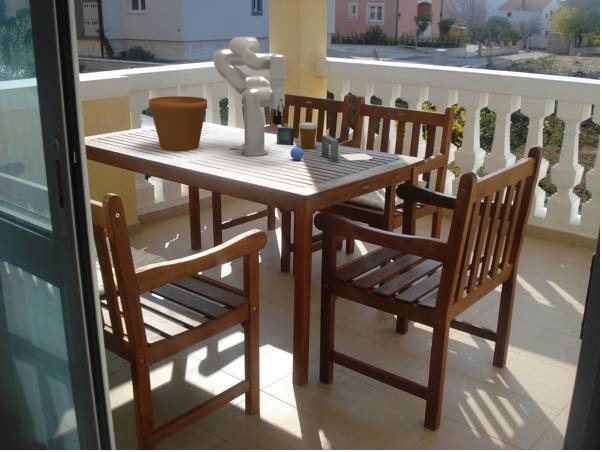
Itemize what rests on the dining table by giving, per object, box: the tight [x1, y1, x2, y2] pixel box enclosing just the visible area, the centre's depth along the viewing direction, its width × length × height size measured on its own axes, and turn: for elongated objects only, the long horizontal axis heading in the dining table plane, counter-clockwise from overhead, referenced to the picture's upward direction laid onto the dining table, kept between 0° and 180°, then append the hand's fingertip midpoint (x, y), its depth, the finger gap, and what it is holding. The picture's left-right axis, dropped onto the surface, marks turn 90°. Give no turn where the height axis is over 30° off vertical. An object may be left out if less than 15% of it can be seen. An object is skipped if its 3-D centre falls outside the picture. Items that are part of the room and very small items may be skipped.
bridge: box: [320, 134, 339, 163], centre depth 326 cm, size 3×15×10 cm, turn 17°
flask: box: [276, 123, 295, 146], centre depth 357 cm, size 9×3×11 cm, turn 71°
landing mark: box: [339, 153, 373, 162], centre depth 331 cm, size 13×13×1 cm
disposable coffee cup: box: [298, 121, 318, 149], centre depth 350 cm, size 10×10×12 cm
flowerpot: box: [148, 95, 208, 152], centre depth 342 cm, size 28×28×24 cm
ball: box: [290, 146, 304, 161], centre depth 322 cm, size 6×6×6 cm
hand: (277, 123), depth 315 cm, fingers open, 2 cm apart
